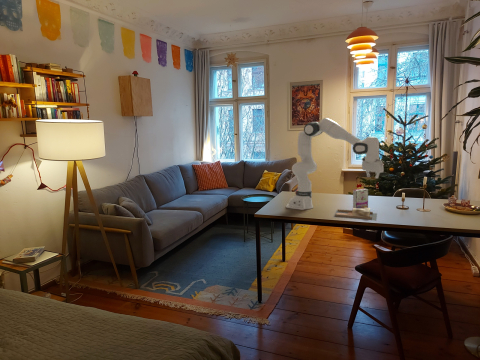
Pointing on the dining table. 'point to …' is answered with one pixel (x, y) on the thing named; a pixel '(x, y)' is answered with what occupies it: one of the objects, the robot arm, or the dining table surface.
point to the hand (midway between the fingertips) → (372, 177)
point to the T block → (361, 212)
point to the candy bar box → (360, 198)
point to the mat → (348, 214)
